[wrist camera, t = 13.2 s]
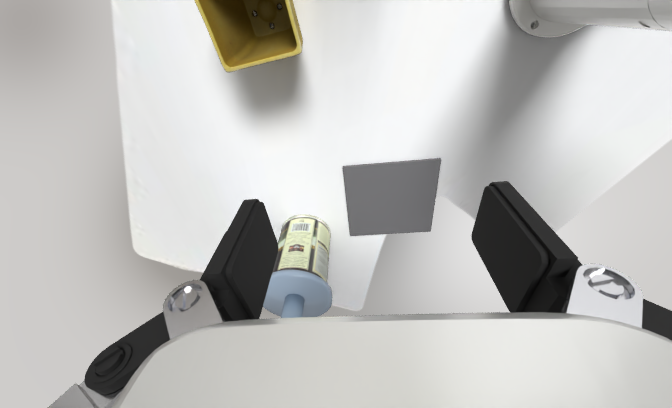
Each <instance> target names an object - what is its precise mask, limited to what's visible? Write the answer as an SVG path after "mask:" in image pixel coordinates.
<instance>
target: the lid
mask: <svg viewBox="0 0 672 408" xmlns="http://www.w3.org/2000/svg"><path fill="white" fill-rule="evenodd" d="M331 304H332V290H331V288H330V286H329V285H328V283H327V282H326V281H324V280H323V279H322V278H320V277H318V276H317V275H314V274H312V273H309V272H305V271H300V270H281V271H277V272H273V273H272V275H271V279H270V283H269V286H268V290H267V293H266V297H265V300H264V304H263V307H264V308H265V309H267V310H268V311H270V312H272V313H273V314H276V315H278V316H281V318H300V317H318V316H320V315H322V314H324V313H325V312H327V311H328V309H329V308H330V307H331Z"/></svg>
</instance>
